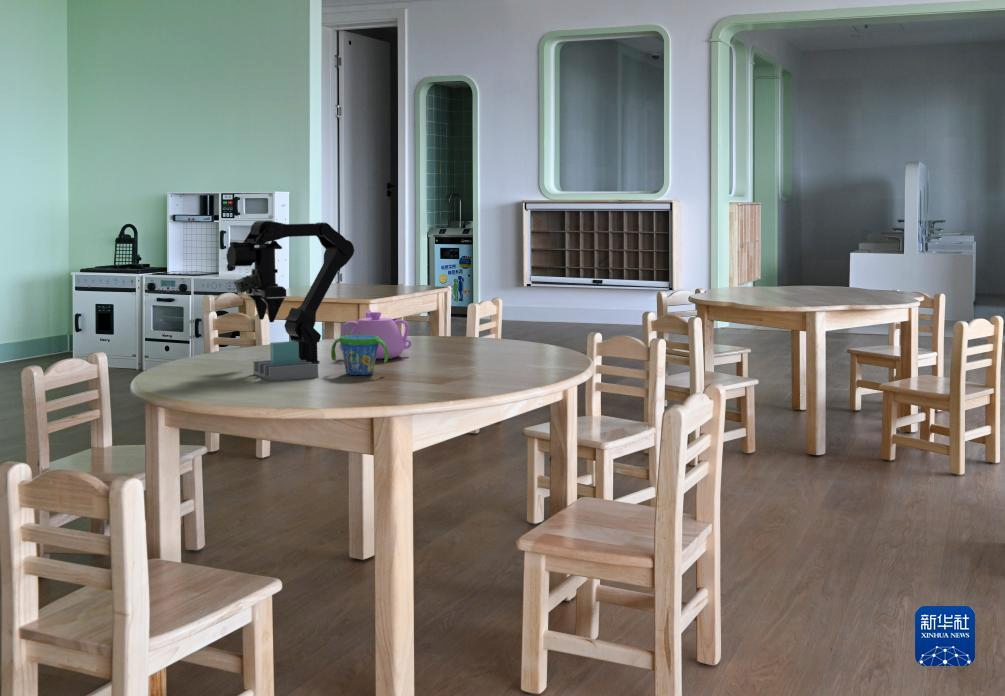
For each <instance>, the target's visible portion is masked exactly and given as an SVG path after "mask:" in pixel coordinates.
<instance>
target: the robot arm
mask: <svg viewBox="0 0 1005 696" xmlns="http://www.w3.org/2000/svg"><path fill="white" fill-rule="evenodd" d="M289 237H290V238H291V237H292V238H293V237H317V240H319V243H320V244H321V246H322V247H323V248H324V249H325V250H324V253H323V263H322V265H321V268H320V269H319V272H318V273H317V275H316V277H315V279H313V283H312V284H311V286H310V288H309V290H308V292H307V293H306V295H305V297H304V299H303V301H302V303H301V304H300V306H298V307H297V308H296V307H291V308H290V310H289V312H288V315H287V316H286V317H285V318H284V321H285V323H284V326H283V327H284V328H285V333H286V334H287V335H288V336H289V337H290V341H297V342H299V358H301V360H306V362H312V364H319V363H321V362H320V360H319V359H318V343H320V340H321V338H322V334H321V333H319V331H317V330H316V329H315V325H316V321H317V312H318V309H319V307H320V306H321V305H322V304H321V303H322V302H323V300H324V298H325V296H326V295H327V292H328V291H329V288H330V286H331V285H332V284H333V281H334V279H335V277H336V276H337V274H338V272H339V271H340V270H341V269H342V268H343V267H345V266H346V265H347V264H348V263H349V261H350V260H351V259H352V258H353V256H354V254H355V247H354V245H353V243H352V241H350V240H349V239H346V237H344V236H343V235H342V233H340V232H338V231H336V230H335V229H334V228H333V227H332V226H331V225H330V224H329V223H327V222H325V221H324V222H322V221H321V222H316V223H283V222H277V221H272V220H257V221H256V220H255V221H254V222H253V223H252V224H251V227H250V230H249V233H248V234H247V236H246V237H245V238H244V240H243V241H242V242H238V241H229V246H228V249H227V252H226V255H225V256H226V261H227V264H228V266H229V267H231V268H232V267H251V266H252V265H253V264H254V268H252V270H251V274H250V275H246V276H243V277H242V278H239V279H236V280H234V281H233V283H234V286H235V288H236V292H237V293H240V294H243V293H245V294H247V296H248V297H249V298H250V299H251V300H252V301H253V304H254V307H255V309H256V312H257V313H256V314H257V316H258V319H259V320H260V321H263V320H264V318H265V316H266V311H267V317H268V321H269V323H274V322H275V320H276V318H277V315H278V312H279V310H280V308H281V306H282V304H283V302H284V300H285V298H286V297H287V289H286V288H285V287H284V286H280V285H279V284H278V283H277V282H276V281H277V280H276V274H278V268H276V250H282V249H283V246H282V245H280V244H279V243H278V241H277V240H281V239H284V238H289ZM267 242H268V243H267ZM256 246H258V247H256Z"/></svg>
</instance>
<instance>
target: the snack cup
mask: <svg viewBox="0 0 1005 696" xmlns="http://www.w3.org/2000/svg"><path fill="white" fill-rule="evenodd" d="M346 335H347V336H343V335H342V336H340V337H339V338H337V339H336V340H335V341H334V342H333V344H332V346H331V351H330V356H331V360H332V362H333V361H334V362H335V361H336V360H337V355H336V346H337V344H338V343H339V344H340V343H341V345H342V350H341V351H342V355H343V356H342V357H343V363H344V370H345V373H346V374H347V375H350V376H368V375H369V376H370V375H373V373H374V370H375V367H376V366H375V365H376V353H377V348H378V344H379V342H380V343H381V345H382V346H383V348H384V350H385V358H383V359H384V360H383V363H387V362H388V360H389V359H388V349H387V346H386V344H385V342H384V341H383V340H381V339H379V337H378V336H373V335H350V334H346Z"/></svg>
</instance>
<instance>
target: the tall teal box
mask: <svg viewBox="0 0 1005 696" xmlns="http://www.w3.org/2000/svg"><path fill="white" fill-rule="evenodd" d="M269 349H270V353H269V354H270V360H271V365H273V364H287V363H299V342H297V341H291V340H289V341H273V342H270V343H269Z"/></svg>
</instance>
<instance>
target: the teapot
mask: <svg viewBox="0 0 1005 696" xmlns="http://www.w3.org/2000/svg"><path fill="white" fill-rule="evenodd" d="M381 315H382V312H381V311H371V310H370V309H366V310H365V317H364V318H359V319H358V320H357V321H355V320H350V321H349V320H348V321H347V322H345V323H344V324H343V325H342V327H341V328H342V329H341V332H342V336H347V335H348V334H347V327H348V326H350V325H351V326H352V325H353V327H352V329H351V331H350V332H349V333H350V334H349V335H373V336H378V337H379V339H381V340H383V341H384V342H385V344H386V346H387V349H388V360H392V359H393V358H397V357H399V356H400V355H401V354H402V353H403V351H404V349H405V350H408V349H411V347H412V343H413V342H412V341H411V339H407V338H408V335H409V330H410V326H409V324H408V322H407V321H406V320H403V319H400V318H399V319H395V320H394V319H392V318H389V317H381ZM397 324H403V325H404V333H403V334H402V331H401V330H400V328H399V326H398V325H397ZM406 343H408V344H406ZM339 349H340V351H342V345H341V343H340V342H339ZM384 358H385V350H384V348H383V346H382V345H381V343H380V342H379V344H378V348H377V353H376V359H384ZM376 359H375V360H376Z"/></svg>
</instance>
